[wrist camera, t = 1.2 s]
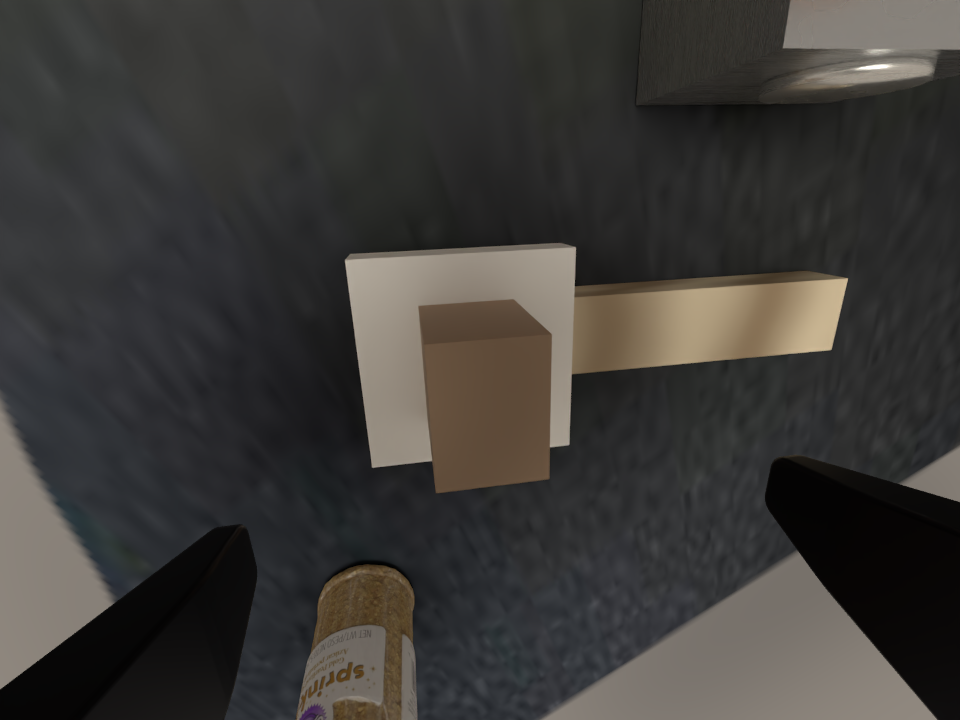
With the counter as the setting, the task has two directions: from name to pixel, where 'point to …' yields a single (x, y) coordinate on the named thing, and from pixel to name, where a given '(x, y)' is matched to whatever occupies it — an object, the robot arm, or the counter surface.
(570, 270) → the carriage
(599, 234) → the counter surface
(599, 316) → the rail
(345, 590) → the sprinkles bottle
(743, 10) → the cabinet
